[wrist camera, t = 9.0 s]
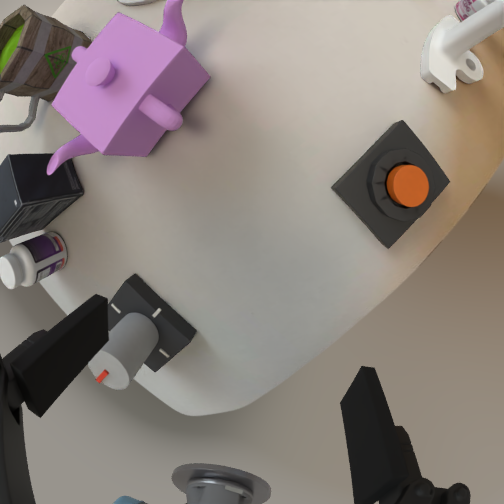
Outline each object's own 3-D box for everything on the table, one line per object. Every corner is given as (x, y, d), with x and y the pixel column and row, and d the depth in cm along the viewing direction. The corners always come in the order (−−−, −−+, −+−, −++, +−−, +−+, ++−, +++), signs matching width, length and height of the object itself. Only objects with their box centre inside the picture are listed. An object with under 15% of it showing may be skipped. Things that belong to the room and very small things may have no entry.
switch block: (381, 243, 28) (394, 254, 24) (330, 187, 27) (338, 190, 23) (440, 180, 25) (459, 182, 21) (394, 122, 24) (410, 116, 20)
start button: (403, 212, 23) (410, 215, 21) (378, 183, 23) (385, 184, 21) (426, 186, 22) (435, 188, 20) (403, 157, 22) (411, 156, 20)
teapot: (213, 161, 27) (173, 156, 17) (103, 170, 29) (36, 176, 18) (216, 29, 23) (185, -25, 13) (110, 52, 24) (54, 24, 14)
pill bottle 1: (41, 231, 32) (-9, 249, 23) (65, 231, 31) (13, 252, 22) (46, 267, 33) (0, 291, 24) (70, 270, 33) (22, 298, 24)
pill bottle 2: (448, 2, 17) (477, -24, 9) (470, 5, 17) (499, -17, 8) (465, 31, 18) (499, 9, 10) (486, 33, 18) (519, 15, 10)
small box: (69, 149, 28) (7, 150, 18) (85, 193, 30) (23, 206, 20) (27, 191, 30) (-27, 203, 20) (42, 230, 32) (-12, 251, 22)
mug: (59, 30, 23) (5, 8, 12) (106, 33, 24) (47, 0, 12) (19, 126, 28) (-41, 126, 16) (58, 144, 28) (-13, 145, 17)
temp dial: (134, 304, 30) (95, 342, 22) (166, 334, 31) (136, 379, 23) (115, 327, 31) (79, 365, 23) (145, 354, 32) (115, 397, 24)
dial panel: (199, 327, 33) (193, 339, 30) (159, 363, 35) (152, 375, 33) (137, 269, 31) (127, 277, 29) (105, 313, 34) (94, 322, 31)
